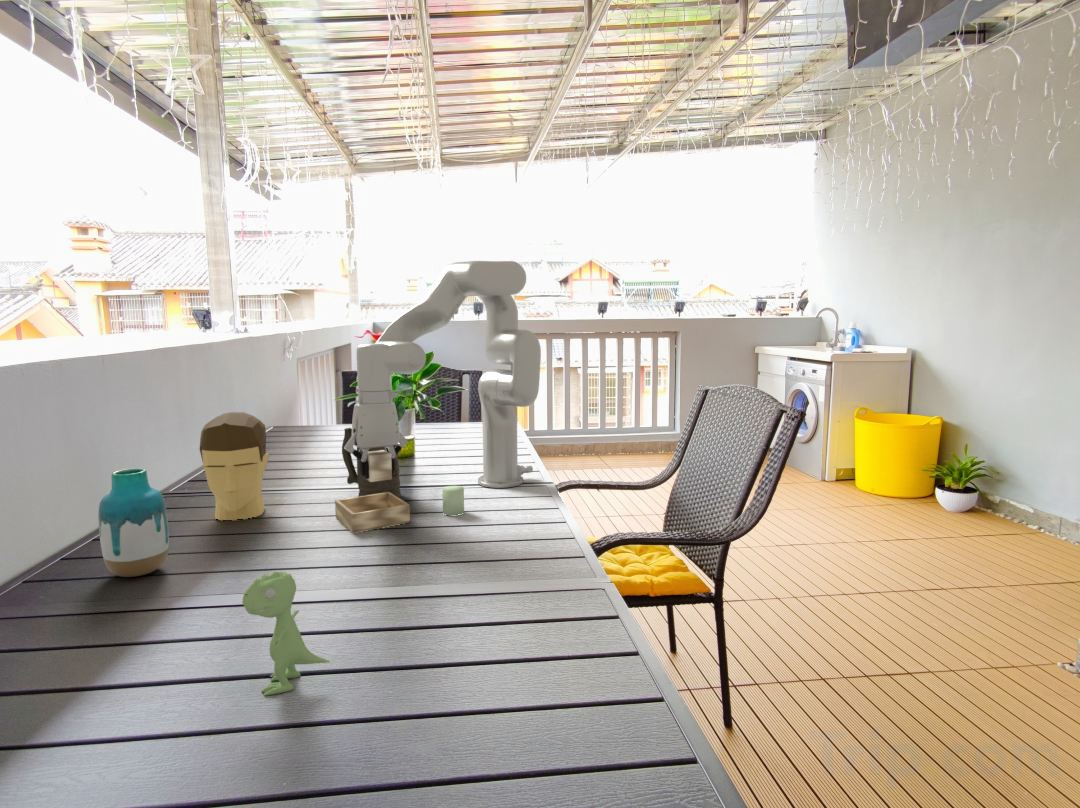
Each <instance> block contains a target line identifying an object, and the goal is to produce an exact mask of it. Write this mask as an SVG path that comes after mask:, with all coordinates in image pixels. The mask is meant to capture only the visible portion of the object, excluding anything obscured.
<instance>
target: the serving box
mask: <svg viewBox="0 0 1080 808" xmlns="http://www.w3.org/2000/svg"><path fill="white" fill-rule="evenodd" d="M334 504H335V505H334V507H335V508H334V509H335V519H336V518H337V519H336V520H337V521H338V520H339V521H340V522H341V523H340V522H339V521H338V522H339V523H340V524H342V526H344V527H345V528H346V527H347V528H348V529H349V530H350V531H351V532H350V531H349V530H348V529H347V528H346V529H347V530H348V531H349V532H350V533H351V534H354V533H356V534H359V533H358V532H361V533H364V532H363V531H366V532H368V531H367V530H372V529H377V530H379V529H378V528H382V529H384V528H383V527H387V528H390V527H389V526H393V527H395V526H394V525H398V526H401V525H400V524H403V525H405V524H404V523H409V522H410V523H411V507H410V506H411V505H410V504H409V503H407V502H406V501H405V500H403V499H401V497H399V498H398V497H397V496H395V495H394V494H392V493H390V492H385V493H378V494H372V495H366V496H359V497H358V496H354V497H348V498H347V497H346V498H343V499H342V498H339V499H335V500H334ZM410 523H409V524H410ZM372 531H373V530H372ZM354 535H355V534H354Z"/></svg>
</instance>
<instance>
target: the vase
mask: <svg viewBox="0 0 1080 808" xmlns="http://www.w3.org/2000/svg"><path fill="white" fill-rule="evenodd" d="M110 476H111V490H110V492H109V493H108V494H106V495H104V496H103V497H102V498H101V500H100V502H99V504H98V516H97V517H98V531H99V533H98V534H99V540H100V548H101V552H102V558H103V561H104V564H105V566H106V568H107V570H108V571H109V572H111V573H112V574H113V575H115V576H118V577H122V578H123V577H124V578H133V577H140V576H144V575H148V574H150V573H153V572H155V571H156V570H159V569H160V568H161V567H162V566H163V564H165V562H166V560H167V558H168V554H169V548H170V547H169V546H170V545H169V544H170V543H169V540H170V537H169V535H170V534H169V533H170V532H169V523H168V521H169V520H168V513H167V506H166V502H165V499H164V495H163V494H162V492H161V491H160V490H158V489H156V488H153V487H151V485H150V484H149V479H148V472H147V469H145V468H126V469H121V470H117V471H113V472H112V473H111V475H110Z"/></svg>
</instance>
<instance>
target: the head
mask: <svg viewBox="0 0 1080 808" xmlns="http://www.w3.org/2000/svg"><path fill="white" fill-rule="evenodd" d="M266 446H267V432H266V424H264V423H263V421H262V420H260V419H259V418H257V417H256V416H254V415H252V414H249V413H247V412H243V411H232V412H226V413H224V412H223V413H222V414H220V415H217V416H215V417H214V418H213V419H211V420H210V421H208V422H207V423H206V424H204V426H203V427H202V430H201V431H200V438H199V452H200V453H199V454H200V456H201V461H202V464H203V465H202V466H203V469H204V473H205V477H206V481H207V486H208V489H210V491H211V493H212V494H213V495H214V498H215V511H214V513H215V515H214V519H215V520H216V519H218V520H217V521H223V520H232V521H238V520H237V519H243V520H249V519H248V518H250V519H253V518H252V517H254V518H256V517H260V515H261V516H262V514H263V513H264V512H265V503H264V499H263V496H262V492H263V480H264V473H265V471H266V469H267V466H268V463H269V454H270V453H269V452H266V451H267V450H266V449H267V447H266Z"/></svg>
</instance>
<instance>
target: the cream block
mask: <svg viewBox="0 0 1080 808" xmlns="http://www.w3.org/2000/svg"><path fill="white" fill-rule="evenodd" d="M367 461H368V463H369V479H367V480H368V481H370V482H376V481H383V480H390V479H392V462H391V453H389V452H387V451H385V450H379V451H370V452H368V455H367Z"/></svg>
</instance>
